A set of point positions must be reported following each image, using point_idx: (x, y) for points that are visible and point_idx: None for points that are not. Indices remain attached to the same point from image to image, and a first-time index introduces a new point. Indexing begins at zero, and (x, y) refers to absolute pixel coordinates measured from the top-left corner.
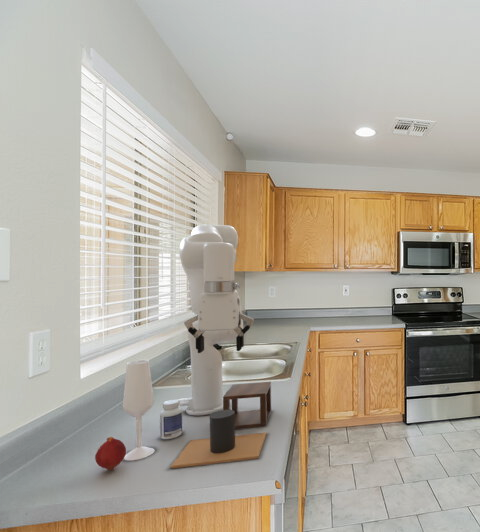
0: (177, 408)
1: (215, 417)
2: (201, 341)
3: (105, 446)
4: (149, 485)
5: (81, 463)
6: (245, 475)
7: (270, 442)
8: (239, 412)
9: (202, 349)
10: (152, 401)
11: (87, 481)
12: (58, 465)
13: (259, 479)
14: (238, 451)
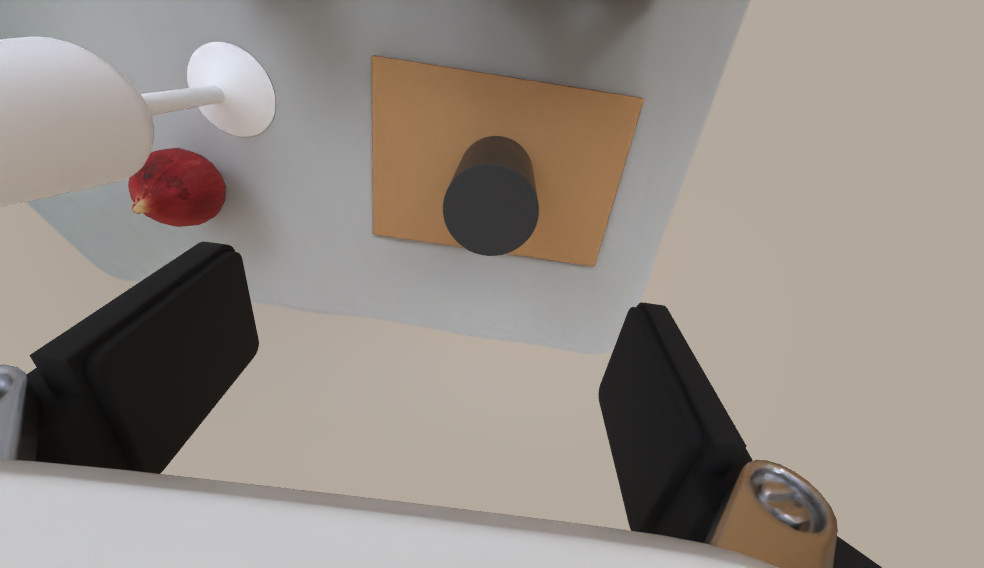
0: None
1: (469, 242)
2: (176, 414)
3: (155, 219)
4: (356, 290)
5: None
6: (558, 326)
7: (642, 173)
8: None
9: (239, 315)
10: (137, 129)
11: None
12: None
13: (585, 350)
14: (543, 218)
